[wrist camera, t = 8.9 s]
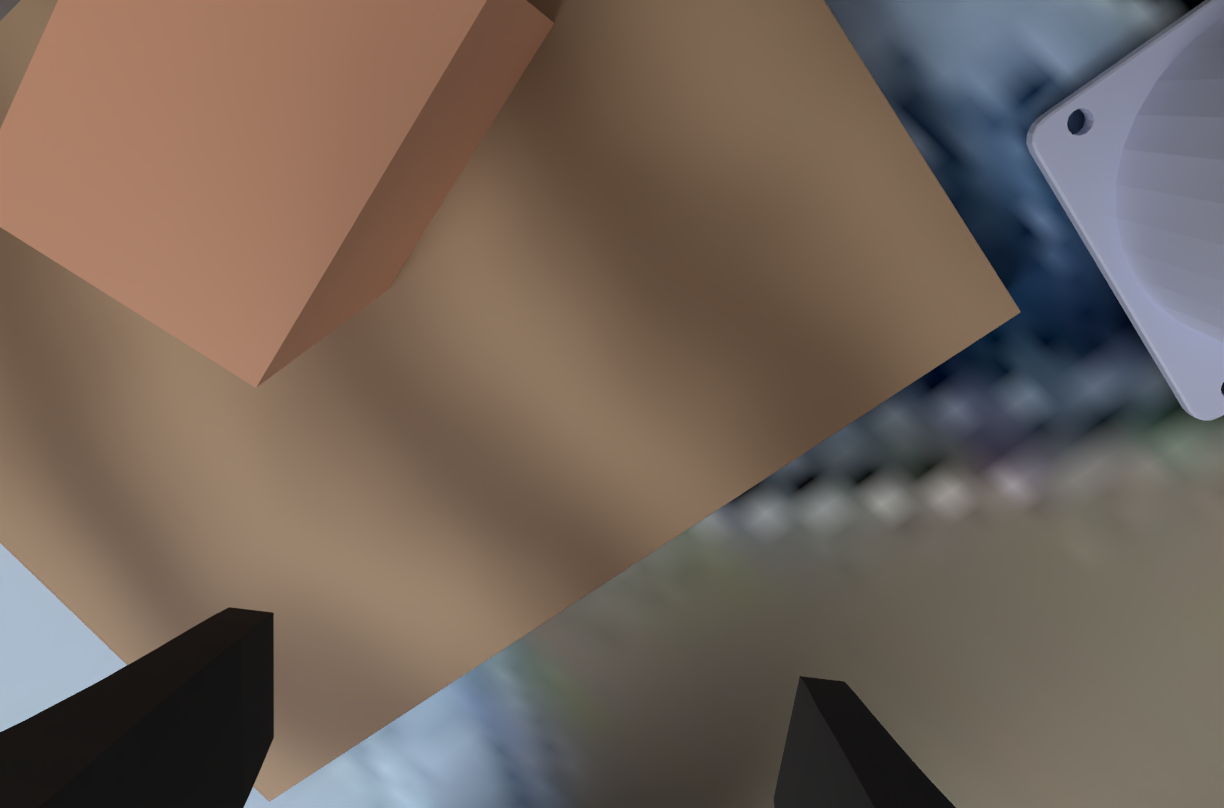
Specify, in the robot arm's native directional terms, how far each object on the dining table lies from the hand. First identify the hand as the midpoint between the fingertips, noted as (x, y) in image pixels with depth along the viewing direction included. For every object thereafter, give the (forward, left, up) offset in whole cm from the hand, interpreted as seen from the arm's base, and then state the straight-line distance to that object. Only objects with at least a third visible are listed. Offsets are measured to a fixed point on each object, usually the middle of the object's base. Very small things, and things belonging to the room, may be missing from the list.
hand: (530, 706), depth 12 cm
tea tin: (-2, -9, -9) cm, 12 cm away
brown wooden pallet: (+1, -6, -10) cm, 12 cm away
